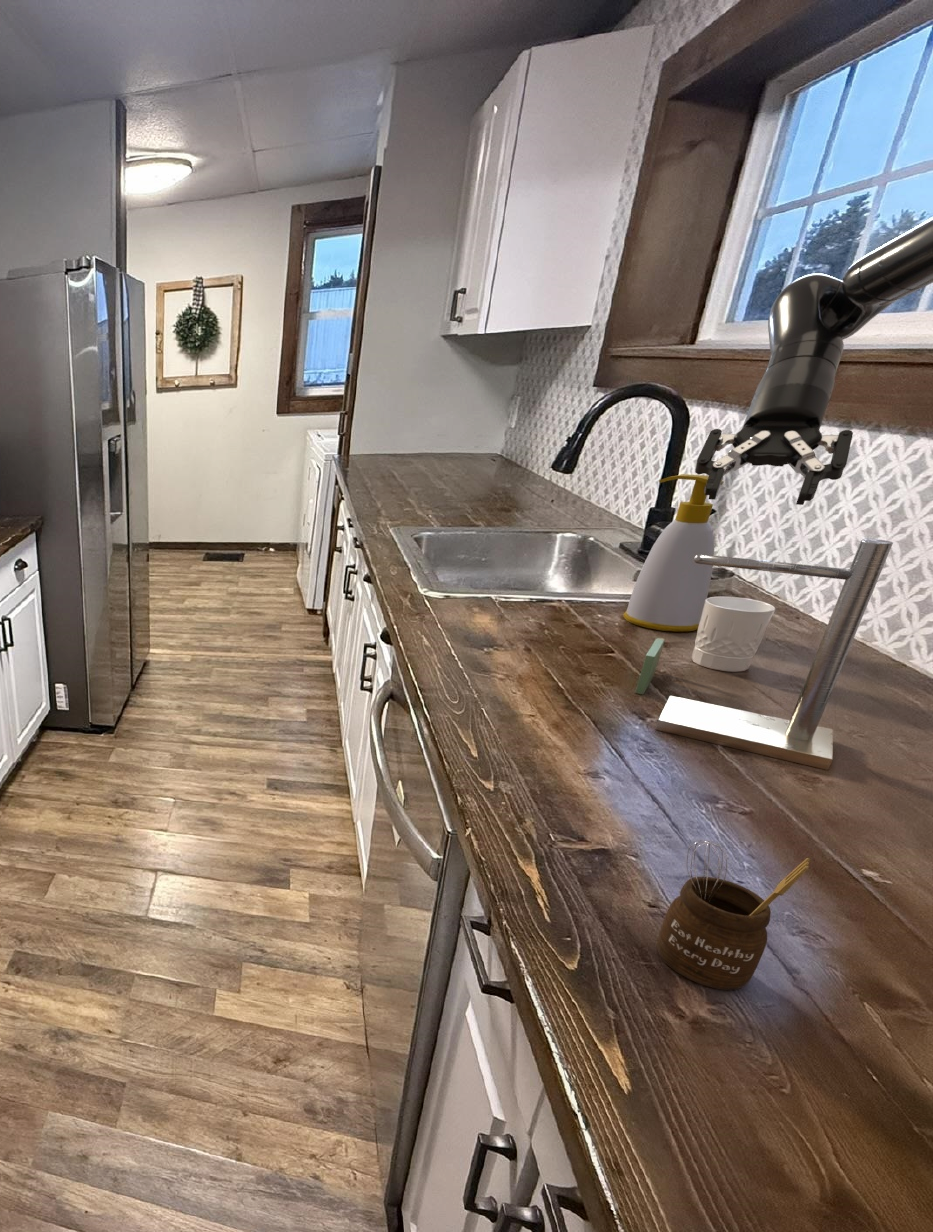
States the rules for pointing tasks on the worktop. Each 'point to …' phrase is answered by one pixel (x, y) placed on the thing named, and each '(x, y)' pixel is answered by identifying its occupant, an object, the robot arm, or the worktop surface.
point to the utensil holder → (718, 928)
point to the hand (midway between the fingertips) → (755, 498)
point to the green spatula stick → (649, 666)
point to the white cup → (730, 632)
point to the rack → (802, 732)
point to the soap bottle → (676, 568)
